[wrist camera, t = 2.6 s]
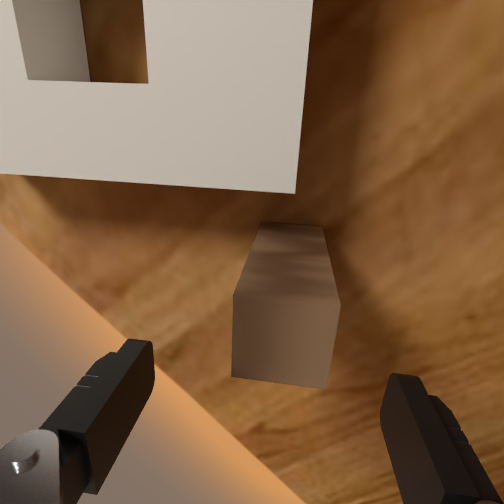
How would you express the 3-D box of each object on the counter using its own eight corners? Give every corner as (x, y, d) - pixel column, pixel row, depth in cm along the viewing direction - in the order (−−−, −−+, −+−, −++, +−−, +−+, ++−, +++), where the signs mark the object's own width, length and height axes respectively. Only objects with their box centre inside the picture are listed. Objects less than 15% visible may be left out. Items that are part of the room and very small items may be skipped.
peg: (321, 226, 21) (341, 306, 12) (314, 280, 22) (326, 389, 13) (261, 221, 21) (233, 294, 12) (258, 274, 23) (231, 376, 13)
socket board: (327, -162, 14) (341, -300, 10) (295, 178, 20) (294, 193, 15) (-65, -140, 16) (-207, -244, 12) (7, 159, 22) (-70, 168, 17)
